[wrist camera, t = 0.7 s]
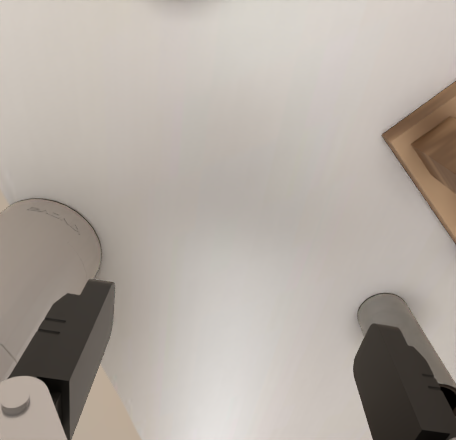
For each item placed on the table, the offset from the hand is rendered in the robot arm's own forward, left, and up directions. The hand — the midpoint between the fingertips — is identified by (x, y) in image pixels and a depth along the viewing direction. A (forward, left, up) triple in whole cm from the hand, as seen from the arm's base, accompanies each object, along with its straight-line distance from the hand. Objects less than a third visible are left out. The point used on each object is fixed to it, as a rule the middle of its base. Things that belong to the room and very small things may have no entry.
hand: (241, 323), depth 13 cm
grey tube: (-7, -20, -21) cm, 29 cm away
